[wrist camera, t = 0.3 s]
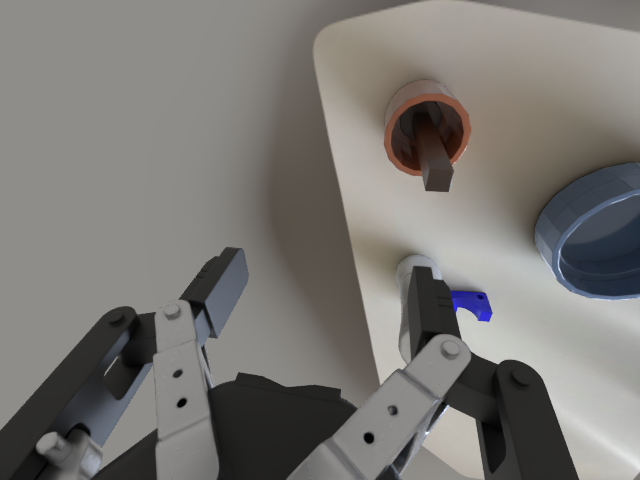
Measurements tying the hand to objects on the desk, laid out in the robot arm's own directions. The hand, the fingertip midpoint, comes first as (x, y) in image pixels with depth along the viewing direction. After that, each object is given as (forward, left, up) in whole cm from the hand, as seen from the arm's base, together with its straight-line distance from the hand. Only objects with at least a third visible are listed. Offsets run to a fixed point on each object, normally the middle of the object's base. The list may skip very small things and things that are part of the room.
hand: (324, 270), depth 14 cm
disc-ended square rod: (0, +6, -27) cm, 27 cm away
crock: (0, +6, -27) cm, 28 cm away
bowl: (+12, +30, -27) cm, 42 cm away
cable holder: (+28, +16, -28) cm, 42 cm away
